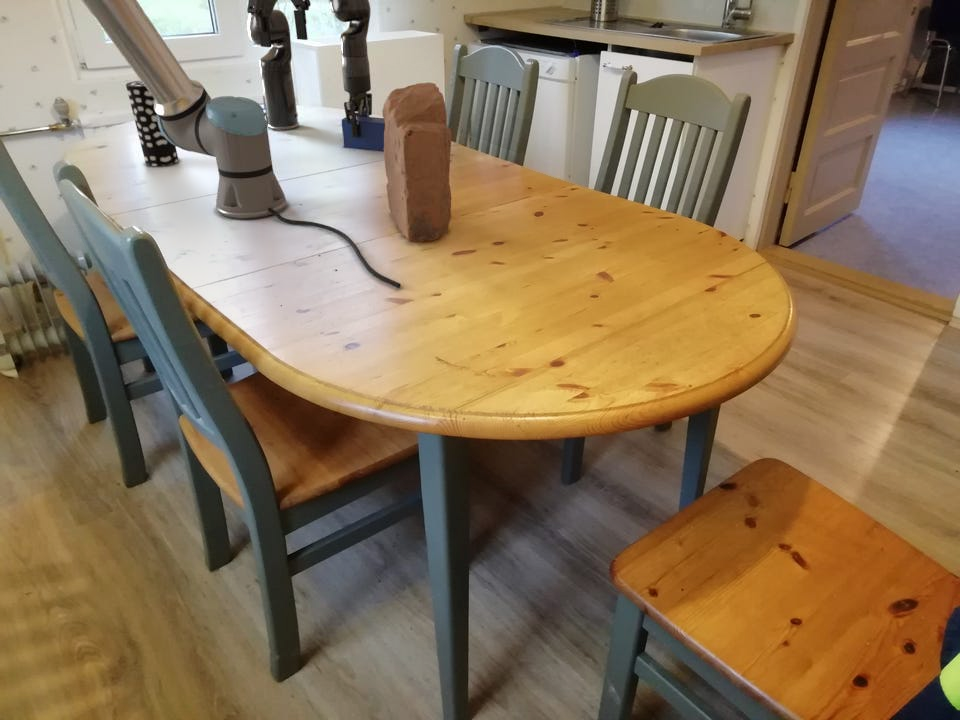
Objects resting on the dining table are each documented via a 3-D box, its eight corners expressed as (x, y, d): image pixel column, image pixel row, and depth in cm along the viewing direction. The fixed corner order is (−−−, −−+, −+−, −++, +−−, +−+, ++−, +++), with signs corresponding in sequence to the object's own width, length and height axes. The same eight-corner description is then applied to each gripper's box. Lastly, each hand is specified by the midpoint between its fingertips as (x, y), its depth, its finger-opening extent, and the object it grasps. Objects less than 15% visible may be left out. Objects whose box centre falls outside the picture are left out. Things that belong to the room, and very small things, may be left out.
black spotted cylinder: (184, 157, 190) (167, 80, 179) (169, 166, 183) (151, 87, 172) (155, 156, 190) (136, 79, 179) (139, 165, 183) (119, 86, 172)
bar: (431, 150, 199) (430, 122, 195) (425, 155, 195) (424, 126, 191) (351, 142, 205) (349, 115, 201) (343, 147, 201) (341, 119, 196)
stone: (462, 239, 143) (459, 96, 128) (408, 246, 140) (400, 100, 125) (434, 208, 160) (429, 79, 146) (387, 213, 157) (377, 82, 143)
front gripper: (293, -60, 168) (304, 35, 179) (219, -58, 149) (237, 48, 160) (318, -60, 165) (328, 37, 176) (247, -58, 146) (262, 51, 157)
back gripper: (354, 67, 197) (359, 127, 207) (332, 76, 186) (338, 140, 195) (379, 69, 196) (382, 129, 205) (357, 78, 184) (362, 142, 193)
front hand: (285, 43), depth 168 cm, fingers open, 13 cm apart
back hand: (361, 134), depth 200 cm, fingers closed on bar, 5 cm apart
